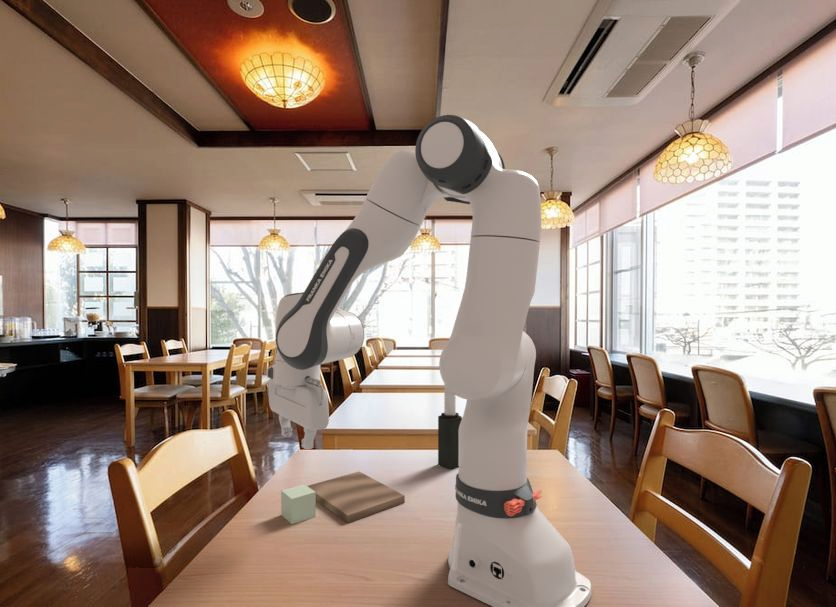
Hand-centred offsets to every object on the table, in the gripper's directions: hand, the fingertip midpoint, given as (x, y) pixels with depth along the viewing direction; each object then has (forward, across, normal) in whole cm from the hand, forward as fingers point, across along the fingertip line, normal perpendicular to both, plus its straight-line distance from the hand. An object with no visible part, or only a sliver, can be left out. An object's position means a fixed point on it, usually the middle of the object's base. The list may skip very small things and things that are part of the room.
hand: (296, 442), depth 91 cm
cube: (+15, -1, 0) cm, 15 cm away
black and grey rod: (+15, 0, -43) cm, 46 cm away
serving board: (+15, -1, -13) cm, 20 cm away
